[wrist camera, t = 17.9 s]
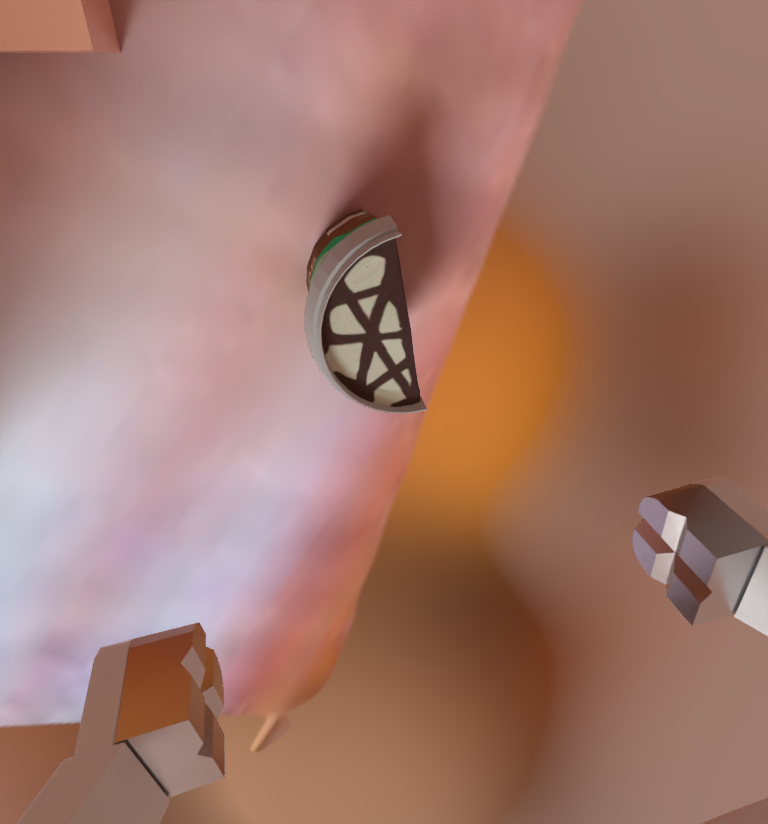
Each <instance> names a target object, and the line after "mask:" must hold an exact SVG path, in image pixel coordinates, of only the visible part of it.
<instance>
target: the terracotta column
mask: <svg viewBox="0 0 768 824" xmlns="http://www.w3.org/2000/svg"><path fill="white" fill-rule="evenodd" d="M0 53H121V52H120V48H119V43H118V39H117V35H116V30H115V26H114V21H113V17H112V13H111V8H110V4H109V0H0Z"/></svg>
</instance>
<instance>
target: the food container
mask: <svg viewBox="0 0 768 824" xmlns="http://www.w3.org/2000/svg"><path fill="white" fill-rule="evenodd" d="M400 236H402V234H401V233H400V232H399V231H398V226H397V225H396V223H395V222H394V220H393V219H392V217H391V216H390V215H387V216H384V217H381V218H378V219H377V218H376V217H374V216H372V215H371V214H369V213H367V212H366V211H364V210H360V211H357V212H355V213H352V214H349V215H346V216H345V217H343V218H342V219H341V220H339V221H338V222H336V223H335V224H333V225H332V226H331V227H329V228H328V229H327V230H326V231H325V233H324V234H323V235H322V237H321V238H320V239H319V241H318V242H317V243H316V245H315V246H314V248H313V251H312V254H311V257H310V260H309V263H308V266H307V287H308V296H307V300H306V306H305V313H304V323H305V334H306V340H307V345H308V347H309V350H310V352H311V355H312V358H313V359H314V361H315V363H316V364H317V366H318V368H319V369H320V371H321V372H322V373H323V374H324V375H325V377H326V378H327V379H328V380H329V381H330V382H331V383H332V384H333V385H334V387H335V388H336V389H338V390H339V391H340V392H341V393H342V394H344V395H345V396H346V397H347V398H349V399H351V400H353V401H354V402H356V403H358V404H360V405H363V406H365V407H368V408H371V409H373V410H376V411H381V412H386V413H398V414H404V413H415V412H420V411H424V410H427V408H426V406H425V404H424V402H423V400H422V398H421V397H420V390H419V387H418V382H417V375H416V368H415V361H414V354H413V345H412V336H411V328H410V322H409V317H408V312H407V306H406V300H405V294H404V288H403V282H402V275H401V269H400V262H399V256H398V250H397V244H396V238H397V237H400Z"/></svg>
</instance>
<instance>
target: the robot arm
mask: <svg viewBox="0 0 768 824" xmlns="http://www.w3.org/2000/svg"><path fill="white" fill-rule="evenodd" d="M639 513H640V515H641V516H642V517H643V520H642V521H641V522H640V523H639V524H638V526H637V527H636V528H635V529H634V534H633V540H632V542H633V546H634V550H635V554H636V557H637V559H638V560H639V562H640V564H641V566H642V567H643V568H644V570H645V571H646V572H647V573H648V575H649V576H650V577H652V578H654V579H656V580H658V581H660V582H662V583H664V584H666V594H667V597H668V598H669V600H670V601H671V602H672V603H673V604H674V606H675V607H676V608H677V609H678V610H679V611H680V613H681V614H682V615H683V616H684V617H685V619H686V620H687V621H688V622H689V623H690V624H691V626H695V625H699V624H702V623H706V622H709V621H713V620H716V619H720V618H723V617H726V616H730V615H733V614H735V617H736V618H737V619H739V620H741V621H743V622H744V623H746V624H748V625H749V626H751V627H753V628H755V629H756V630H758V631H760V632H762V633H763V634H765V635H767V636H768V511H767V510H765V509H764V508H763V507H761V506H760V505H759V504H758V503H757V502H756V501H754V500H753V499H752V498H751V497H749V496H748V495H747V494H746V493H744V492H743V491H742V490H741V489H740V488H738V487H737V486H736V485H735V484H733V483H732V482H731V481H729V480H728V479H726V478H723V477H720V476H719V477H715V478H711V479H707V480H704V481H701V482H697V483H694V484H688V485H684V486H681V487H677V488H674V489H670V490H667V491H664V492H660V493H657V494H654V495H650V496H647V497H645V498H644V500H642V501H641V503H640V507H639ZM223 708H224V687H223V680H222V673H221V668H220V665H219V661H218V658H217V656H216V654H215V652H214V650H213V649H210V648H208V647H206V634H205V632H204V630H203V628H202V626H201V625H200V623H195V624H191V625H187V626H183V627H179V628H175V629H171V630H167V631H163V632H159V633H155V634H151V635H147V636H143V637H139V638H135V639H131V640H128V641H124V642H120V643H117V644H113V645H109V646H105V647H102V648H100V650H99V652H98V653H97V655H96V657H95V659H94V663H93V667H92V672H91V677H90V682H89V686H88V691H87V696H86V701H85V705H84V710H83V715H82V720H81V725H80V729H79V735H78V739H77V744H76V749H75V753H74V757H72V758H69V759H66V760H63V761H62V763H61V764H60V765H59V767H58V768H57V770H56V771H55V772H54V774H53V775H52V776H51V778H50V779H49V780H48V782H47V783H46V785H45V786H44V787H43V789H42V790H41V792H40V793H39V794H38V795H37V797H36V798H35V800H34V801H33V802H32V804H31V805H30V806H29V808H28V809H27V810H26V812H25V813H24V815H23V816H22V817H21V819H20V820H19V821H18V823H17V824H160V821H161V819H162V817H163V815H164V813H165V811H166V809H167V807H168V805H169V802H170V799H169V797H171V796H174V795H177V794H180V793H183V792H186V791H189V790H191V789H194V788H197V787H200V786H203V785H205V784H208V783H211V782H214V781H217V780H219V779H222V778H225V776H224V775H225V771H224V770H225V769H224V768H225V761H224V760H225V757H224V756H225V755H224V754H225V753H224V733H223V730H222V729H221V727H220V725H219V723H218V721H217V718H218V716H219V714H220V713H221V711H222V709H223ZM700 824H768V797H767V798H765V799H762V800H760V801H757V802H754V803H752V804H750V805H747V806H744V807H742V808H739V809H736V810H734V811H731V812H729V813H726V814H724V815H721V816H718V817H716V818H713V819H711V820H708V821H706V822H703V823H700Z"/></svg>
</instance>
